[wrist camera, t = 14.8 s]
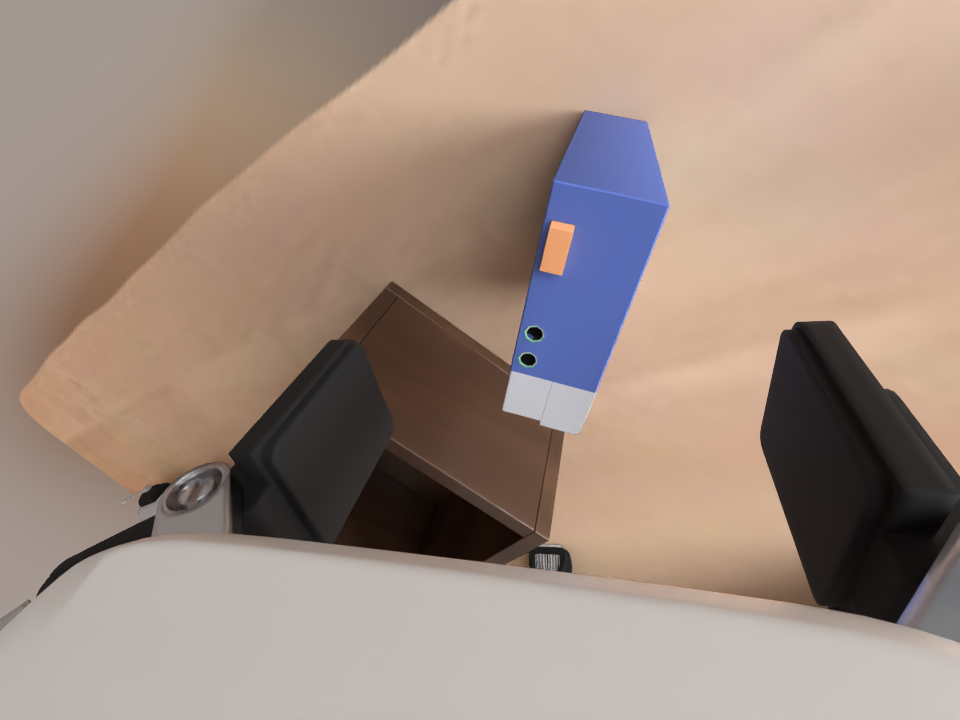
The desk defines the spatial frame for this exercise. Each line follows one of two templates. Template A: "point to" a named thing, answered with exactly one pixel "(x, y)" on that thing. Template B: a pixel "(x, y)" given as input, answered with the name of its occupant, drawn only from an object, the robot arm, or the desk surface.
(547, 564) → the electric trimmer
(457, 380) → the brown hollow rectangular box
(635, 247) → the walkman
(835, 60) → the desk surface
